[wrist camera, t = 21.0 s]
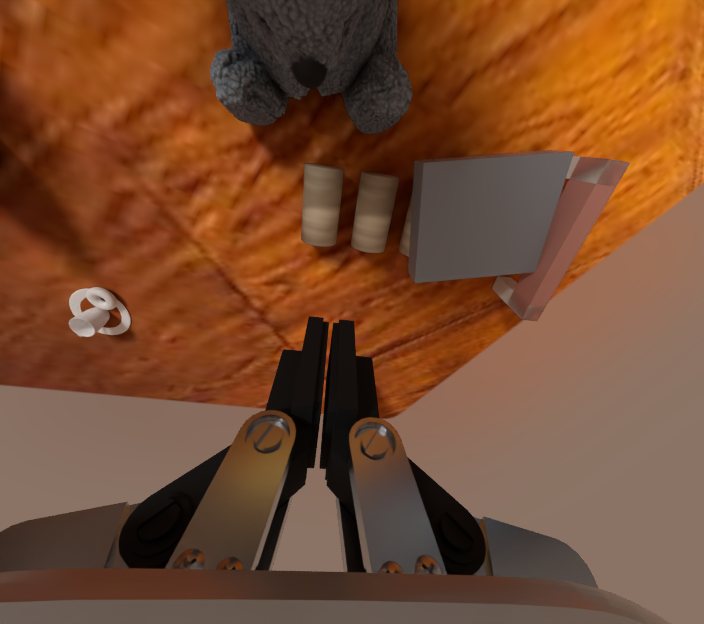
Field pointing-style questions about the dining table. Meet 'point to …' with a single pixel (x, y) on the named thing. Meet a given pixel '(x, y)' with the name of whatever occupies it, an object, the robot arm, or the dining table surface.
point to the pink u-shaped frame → (563, 234)
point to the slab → (483, 213)
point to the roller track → (369, 216)
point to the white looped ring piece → (96, 313)
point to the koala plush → (313, 59)
